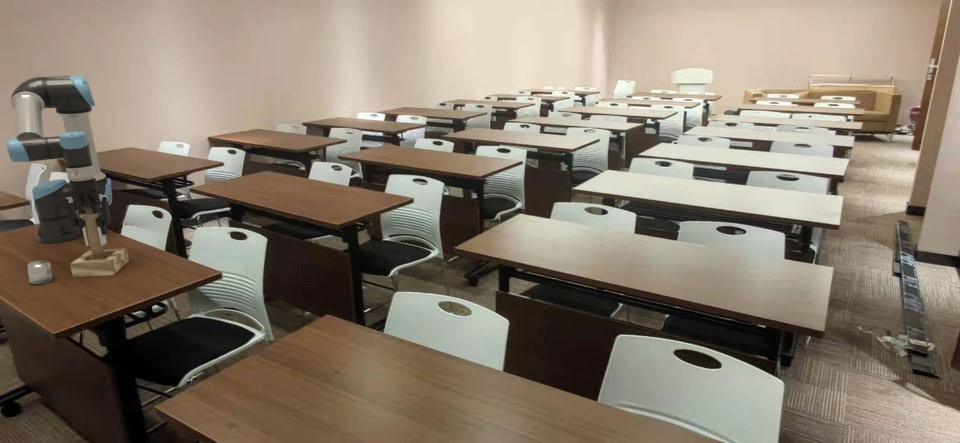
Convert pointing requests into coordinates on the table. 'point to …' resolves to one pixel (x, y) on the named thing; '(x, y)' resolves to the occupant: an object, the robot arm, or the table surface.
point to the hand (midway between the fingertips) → (96, 244)
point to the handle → (93, 231)
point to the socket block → (99, 263)
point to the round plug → (39, 272)
